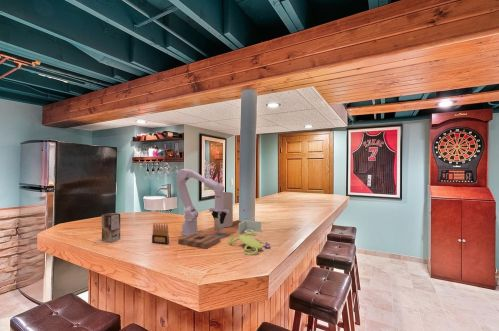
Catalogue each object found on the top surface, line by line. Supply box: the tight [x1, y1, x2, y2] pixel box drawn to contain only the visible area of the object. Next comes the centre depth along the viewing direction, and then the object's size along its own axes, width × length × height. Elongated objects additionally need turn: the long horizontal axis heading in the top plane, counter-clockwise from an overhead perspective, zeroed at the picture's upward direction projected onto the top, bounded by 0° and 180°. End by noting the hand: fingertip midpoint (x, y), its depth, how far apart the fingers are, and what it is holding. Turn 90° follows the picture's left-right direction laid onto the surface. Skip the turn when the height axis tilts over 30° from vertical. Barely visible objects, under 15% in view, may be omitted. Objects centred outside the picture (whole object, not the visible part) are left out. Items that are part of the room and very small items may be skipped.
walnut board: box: [177, 232, 221, 250], centre depth 144 cm, size 20×14×3 cm
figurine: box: [227, 231, 271, 256], centre depth 139 cm, size 18×27×6 cm
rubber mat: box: [210, 231, 230, 240], centre depth 160 cm, size 10×10×1 cm
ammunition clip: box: [151, 222, 170, 246], centre depth 143 cm, size 11×2×12 cm, turn 74°
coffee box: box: [101, 212, 121, 243], centre depth 150 cm, size 9×6×16 cm
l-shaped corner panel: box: [237, 219, 262, 235], centre depth 166 cm, size 12×12×8 cm
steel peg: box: [213, 217, 224, 232], centre depth 159 cm, size 4×4×8 cm
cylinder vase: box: [218, 191, 234, 228], centre depth 186 cm, size 12×12×25 cm
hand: (219, 223), depth 160 cm, fingers closed on steel peg, 4 cm apart
